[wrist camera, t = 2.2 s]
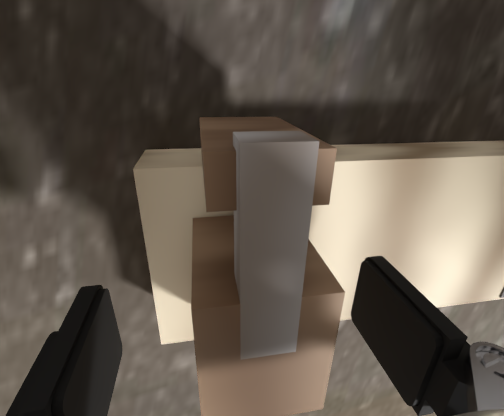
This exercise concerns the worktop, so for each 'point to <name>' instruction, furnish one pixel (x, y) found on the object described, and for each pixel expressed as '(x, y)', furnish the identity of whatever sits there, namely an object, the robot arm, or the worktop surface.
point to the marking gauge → (262, 270)
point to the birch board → (350, 221)
